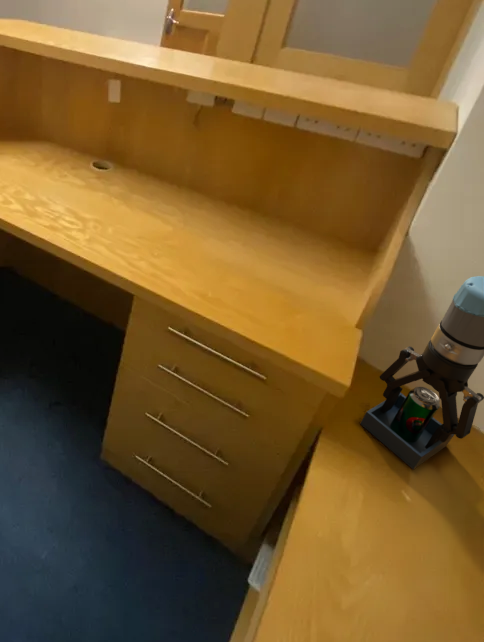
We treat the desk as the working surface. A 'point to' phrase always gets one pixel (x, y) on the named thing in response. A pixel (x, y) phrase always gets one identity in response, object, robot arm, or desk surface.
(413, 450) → the tub
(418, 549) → the desk surface
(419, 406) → the soda can
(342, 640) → the desk surface
